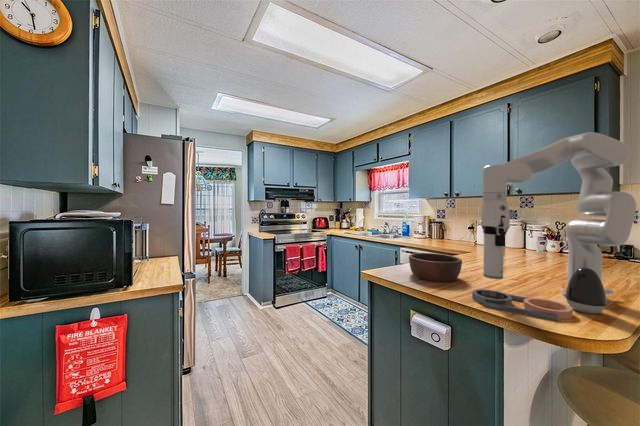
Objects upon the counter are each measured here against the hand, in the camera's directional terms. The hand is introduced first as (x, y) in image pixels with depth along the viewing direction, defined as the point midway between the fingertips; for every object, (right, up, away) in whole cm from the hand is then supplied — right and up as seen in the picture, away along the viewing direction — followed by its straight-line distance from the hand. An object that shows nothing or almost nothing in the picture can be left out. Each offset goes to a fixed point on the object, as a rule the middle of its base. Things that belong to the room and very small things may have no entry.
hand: (493, 244), depth 99 cm
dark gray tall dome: (+26, -23, -8) cm, 35 cm away
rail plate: (+4, -22, -3) cm, 23 cm away
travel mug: (0, -13, 0) cm, 13 cm away
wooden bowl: (-8, -21, +35) cm, 41 cm away
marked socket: (+12, -22, -9) cm, 27 cm away
